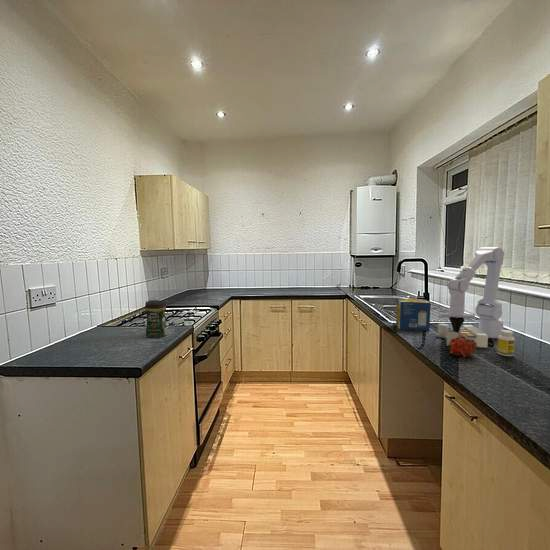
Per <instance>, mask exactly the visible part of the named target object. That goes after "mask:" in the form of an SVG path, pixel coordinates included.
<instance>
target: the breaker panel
mask: <svg viewBox="0 0 550 550" xmlns="http://www.w3.org/2000/svg"><path fill="white" fill-rule="evenodd" d="M460 332H469V333H471V334H466V335H462V337H464V336H465V337H466V338H467V339H472V340H474V342H475V343H477V347H476V348H488V341H489V338H488V335H487V334H485V333H483V332H482V331H480V330H479V328H478V327H476V326H474V325H473V324H472V325H470V324H469V325H468V324H462V327H460V329H459V333H460Z"/></svg>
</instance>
